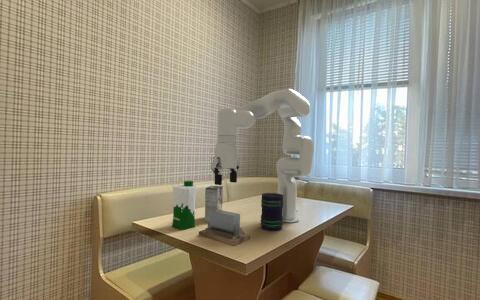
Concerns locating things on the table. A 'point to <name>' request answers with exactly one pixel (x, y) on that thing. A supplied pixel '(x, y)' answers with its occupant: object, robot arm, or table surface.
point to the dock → (224, 235)
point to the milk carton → (184, 205)
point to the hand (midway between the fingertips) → (225, 183)
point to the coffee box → (213, 200)
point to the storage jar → (272, 212)
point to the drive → (225, 221)
